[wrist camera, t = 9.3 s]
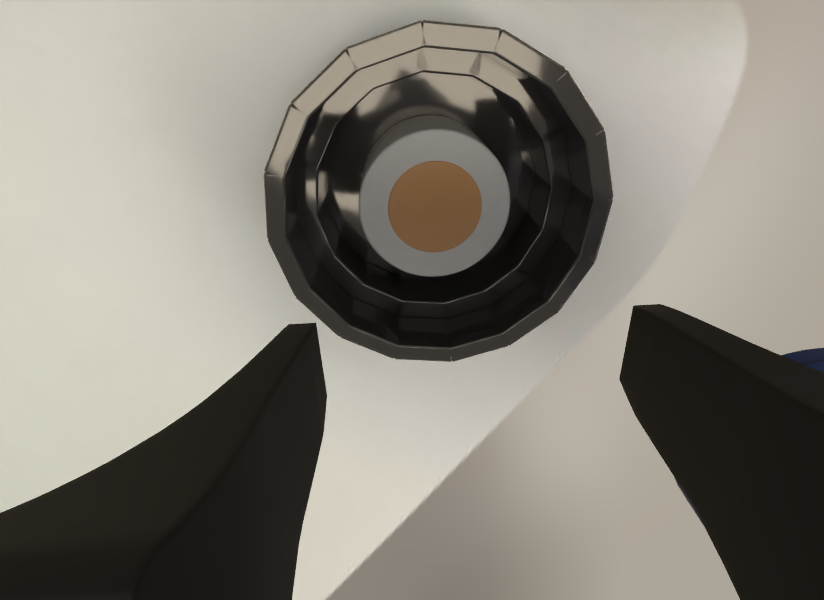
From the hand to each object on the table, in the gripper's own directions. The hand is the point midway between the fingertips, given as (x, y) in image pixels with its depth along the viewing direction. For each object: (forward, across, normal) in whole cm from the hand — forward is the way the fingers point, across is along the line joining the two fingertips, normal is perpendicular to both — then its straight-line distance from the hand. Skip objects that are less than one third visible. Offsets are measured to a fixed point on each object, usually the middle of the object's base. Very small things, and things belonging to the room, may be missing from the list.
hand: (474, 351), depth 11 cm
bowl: (+9, 0, -2) cm, 9 cm away
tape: (+9, 0, -2) cm, 9 cm away
